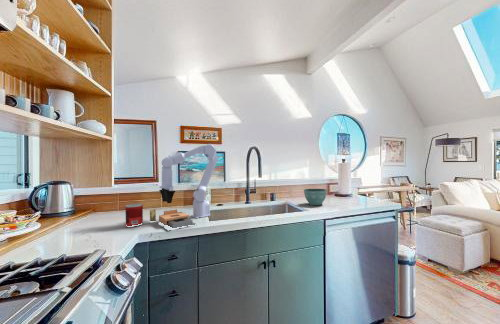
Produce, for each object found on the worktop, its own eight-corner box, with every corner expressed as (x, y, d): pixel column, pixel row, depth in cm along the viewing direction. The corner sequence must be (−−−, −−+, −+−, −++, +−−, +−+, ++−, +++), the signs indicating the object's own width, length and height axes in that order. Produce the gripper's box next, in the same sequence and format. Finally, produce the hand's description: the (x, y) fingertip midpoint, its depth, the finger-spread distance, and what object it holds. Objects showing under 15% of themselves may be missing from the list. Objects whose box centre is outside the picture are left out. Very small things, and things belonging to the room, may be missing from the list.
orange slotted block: (181, 217, 122) (181, 208, 122) (189, 220, 114) (188, 211, 114) (159, 221, 114) (158, 212, 115) (165, 225, 106) (165, 215, 106)
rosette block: (182, 218, 123) (182, 213, 123) (196, 225, 109) (196, 219, 109) (157, 223, 114) (156, 218, 114) (168, 231, 100) (168, 225, 100)
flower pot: (299, 203, 161) (299, 189, 161) (316, 201, 167) (315, 187, 168) (314, 207, 146) (314, 191, 146) (332, 205, 153) (331, 189, 153)
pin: (155, 221, 119) (154, 208, 119) (156, 222, 117) (156, 209, 117) (149, 222, 117) (149, 209, 117) (150, 223, 115) (150, 210, 115)
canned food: (146, 223, 114) (145, 203, 114) (134, 228, 107) (134, 206, 107) (134, 223, 116) (134, 203, 116) (122, 227, 109) (121, 205, 109)
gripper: (156, 178, 126) (156, 201, 125) (163, 179, 114) (163, 204, 114) (168, 177, 130) (168, 200, 130) (176, 178, 119) (176, 203, 119)
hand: (167, 202), depth 122 cm, fingers open, 7 cm apart
